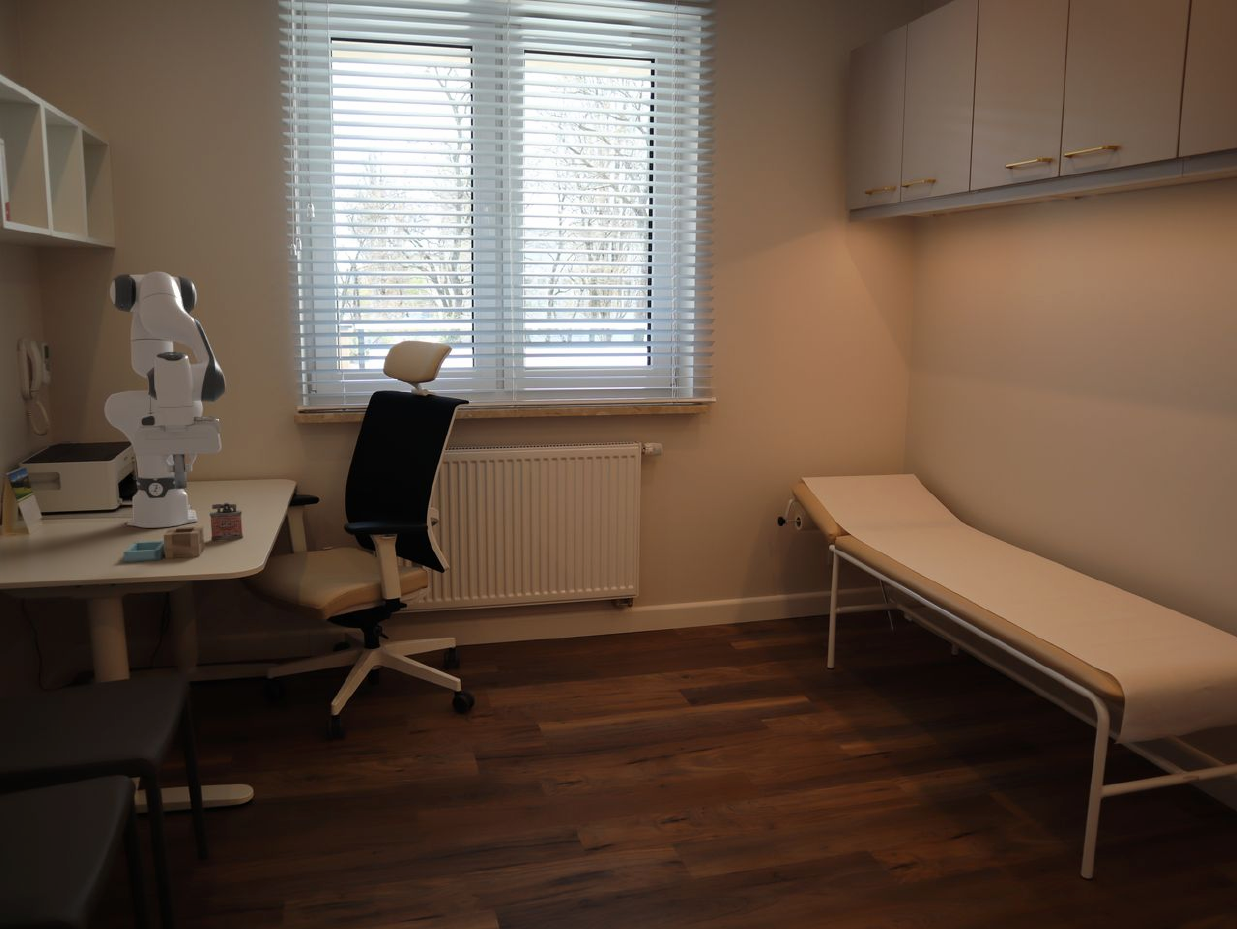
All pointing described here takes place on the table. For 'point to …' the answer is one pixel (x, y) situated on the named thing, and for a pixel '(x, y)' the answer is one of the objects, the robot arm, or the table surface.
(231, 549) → the table surface
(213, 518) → the lighter
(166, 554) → the bored block
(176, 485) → the post
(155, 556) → the tray
